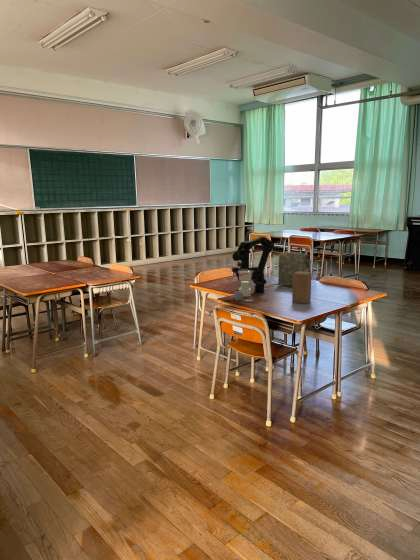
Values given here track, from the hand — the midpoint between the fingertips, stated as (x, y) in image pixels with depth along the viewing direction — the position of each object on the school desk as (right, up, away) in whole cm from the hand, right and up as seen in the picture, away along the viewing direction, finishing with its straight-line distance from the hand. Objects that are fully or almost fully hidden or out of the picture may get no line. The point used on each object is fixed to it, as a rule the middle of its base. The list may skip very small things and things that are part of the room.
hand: (244, 281), depth 298 cm
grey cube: (-5, -13, -9) cm, 17 cm away
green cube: (0, -5, +1) cm, 6 cm away
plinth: (0, -10, +2) cm, 11 cm away
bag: (+42, -4, +32) cm, 53 cm away
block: (+36, -14, -19) cm, 43 cm away
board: (+2, -14, -16) cm, 21 cm away
